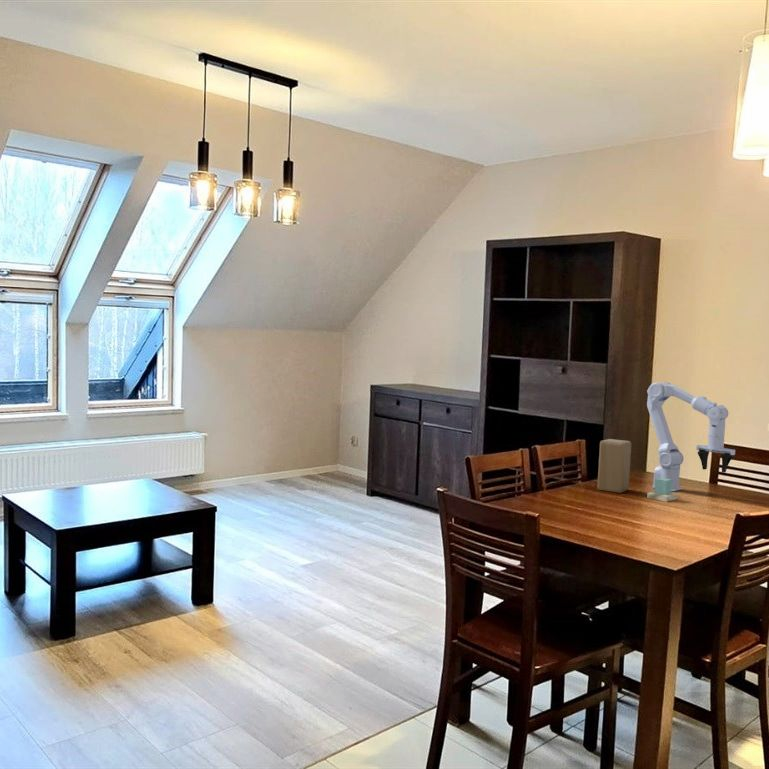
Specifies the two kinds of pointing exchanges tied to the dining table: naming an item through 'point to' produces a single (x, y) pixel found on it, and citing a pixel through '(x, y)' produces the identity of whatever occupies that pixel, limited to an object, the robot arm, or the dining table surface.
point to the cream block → (662, 496)
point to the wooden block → (614, 465)
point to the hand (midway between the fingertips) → (714, 470)
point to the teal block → (663, 486)
